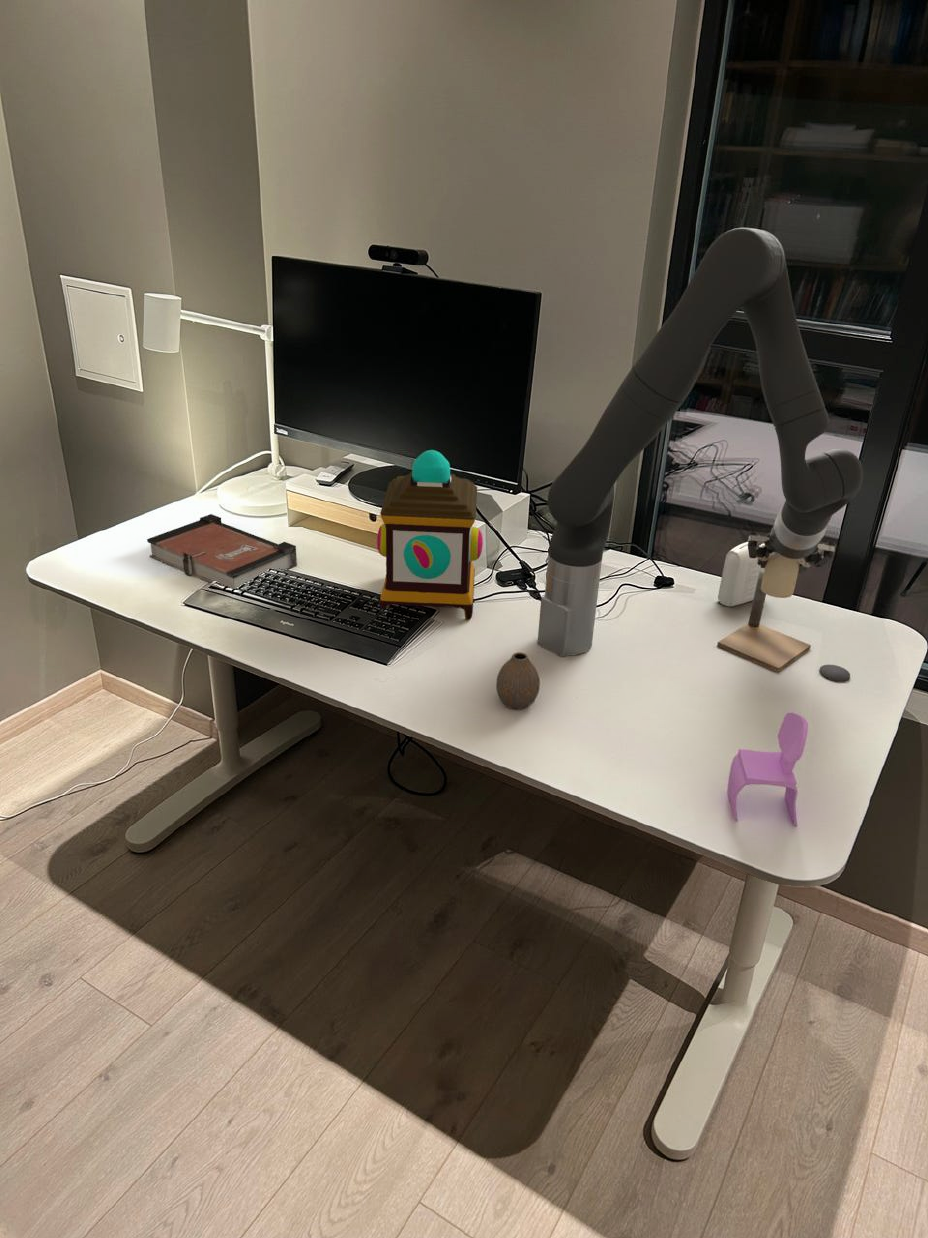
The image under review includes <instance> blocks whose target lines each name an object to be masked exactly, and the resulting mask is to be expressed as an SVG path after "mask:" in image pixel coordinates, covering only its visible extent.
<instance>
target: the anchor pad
mask: <svg viewBox="0 0 928 1238" xmlns="http://www.w3.org/2000/svg"><path fill="white" fill-rule="evenodd" d="M818 671H819V674H820V676H822V678H824V679H826V680H829V681H831V682H837V683H844V682H847V681H849V680H850V677H851V673H850V672H849V671H848V670H847V669H846V668H844V667H842V666H840V665H835V664H824V665H821V666H820V667H819V670H818Z"/></svg>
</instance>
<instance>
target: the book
mask: <svg viewBox="0 0 928 1238" xmlns="http://www.w3.org/2000/svg"><path fill="white" fill-rule="evenodd" d="M146 541H147V543H149V544H150V550H151V554H150V555H149V558H151V559H153V560H155V561H158V562H160V563H161V564H164V565H167V566H170V567H172V568H174V569H176V570H179V571H180V572H183V573H184V574H185V575H186V576H189V577H194V578H197V579H200V580H202V581H203V582H206V583H208V584H210V583H212V582H213V581H217V582H219V583H221V584H224V585H226V586H228V587H230V588H232V589H236V588H237V587H239V586H240V585H242V584H244V583H245V582H247V581H249V580H251V579H253V578H255V577H256V576H258V575H260V574H261V573H263V572H265V571H267V570H268V569H270V568H280V569H287V571H289V570H291V569H294V568H295V567H298V561H297V560H298V558H297V557H298V556H297V546H296V545H294V544H293V543H289V542H286V541H283V542H280V543H276V542H273V541H271V540H269V539H266V538H263V537H260V536H257V535H255V534H252V533H250V532H248V531H247V532H246V531H245V530H242V529H239V528H236V527H233V526H231V525H228V524H226V523H223V522H222V517H221V516H217V515H215V514H212V513H210V514H207V515H204V516H202V517H199V520H196V521H193V522H190V523H189V524H186V525H183V526H179V527H177V528H174V529H172V530H168V531H166V532H163V533H161V534H157V535H155V536H152V537H148V538H147V539H146Z"/></svg>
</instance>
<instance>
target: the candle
mask: <svg viewBox="0 0 928 1238" xmlns="http://www.w3.org/2000/svg"><path fill="white" fill-rule="evenodd" d="M799 567H800V564H799V562H798V561H797V559H790V558H786V557H784V556H783V557H781V556H780V557H778V558H776V559H774V560H771V559H769V560H768V562H767V564H766V566H765V570H764V575H763V579H762V584H761V590H762V592H764V593H765V594H766V596H771V597H773V598H777V599H778V598H780V599H786V598H790V597H792V596H793V594H794V591H795V588H796V583H797V579H798V575H799V573H798V571H799Z"/></svg>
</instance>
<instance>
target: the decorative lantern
mask: <svg viewBox="0 0 928 1238" xmlns="http://www.w3.org/2000/svg"><path fill="white" fill-rule="evenodd" d="M450 465H451V464H450V462H449V461H448V460H447V458H445V456H444V455H443V454H442V453H441V452H439V451H437V450H434V449H430V450H425V451H423V452H422V453H421V454H420V455H418V457H416V458H415V459H414V461H413V463H412V469H411V470H412V471H411V472H409V473H408V474H406V475H398V476H396V478H393V479H392V480H391V481H390V482H389V483H388V486H387V490H386V492H385V497H384V500H383V503H382V506H381V509H380V512H379V513H380V518H381V520H382V521H383V523H382V524H381V525H380V526H379V528H378V531H377V537H376V546H377V550H378V553H379V554H380V555H381V556H382V557H383V558H385V571H386V572H385V577H384V582H383V586H382V589H381V594H380V597H379V610H380V609H383V610H386V609H388V610H389V607H390V606H391V605H392V606H393V605H395V606H411V607H412V606H415V607H433V608H435V607H437V608H460V609H463V612H464V613H463V614H464V615H463V616H464V619H465V620H466V621H470V620H471V619H472V617H473V613H474V612H473V611H474V596H475V595H474V593H475V592H474V591H475V590H474V589H475V572H476V567H475V565H474V563H473V562H475V561H477V560H479V558H481V555H482V553H483V552H482V551H483V545H484V540H483V534H482V531H481V529H479V528H478V527H477V526H473V525H474V523H475V522H476V518H477V501H478V498H477V497H478V486H477V485H475V483H474V482H472V481H470V480H469V479H467V478H460V477H457V476H456V474H454V473H452V470H451V466H450Z"/></svg>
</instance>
